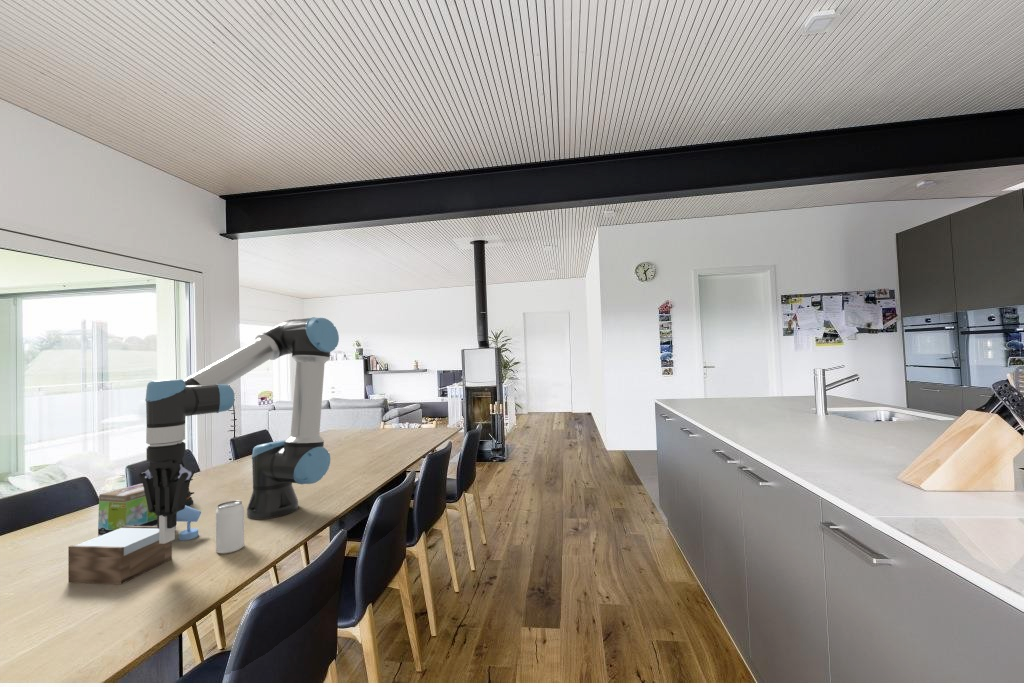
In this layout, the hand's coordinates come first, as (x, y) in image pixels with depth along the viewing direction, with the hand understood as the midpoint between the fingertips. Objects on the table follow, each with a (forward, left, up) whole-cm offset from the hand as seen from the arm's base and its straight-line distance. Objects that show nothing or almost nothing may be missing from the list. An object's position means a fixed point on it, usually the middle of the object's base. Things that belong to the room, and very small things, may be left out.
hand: (167, 541), depth 108 cm
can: (-10, -10, -7) cm, 16 cm away
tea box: (+20, -27, -8) cm, 35 cm away
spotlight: (+6, -23, -7) cm, 25 cm away
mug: (+25, -59, -7) cm, 65 cm away
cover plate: (+12, -4, -1) cm, 12 cm away
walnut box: (+12, -4, -7) cm, 14 cm away
